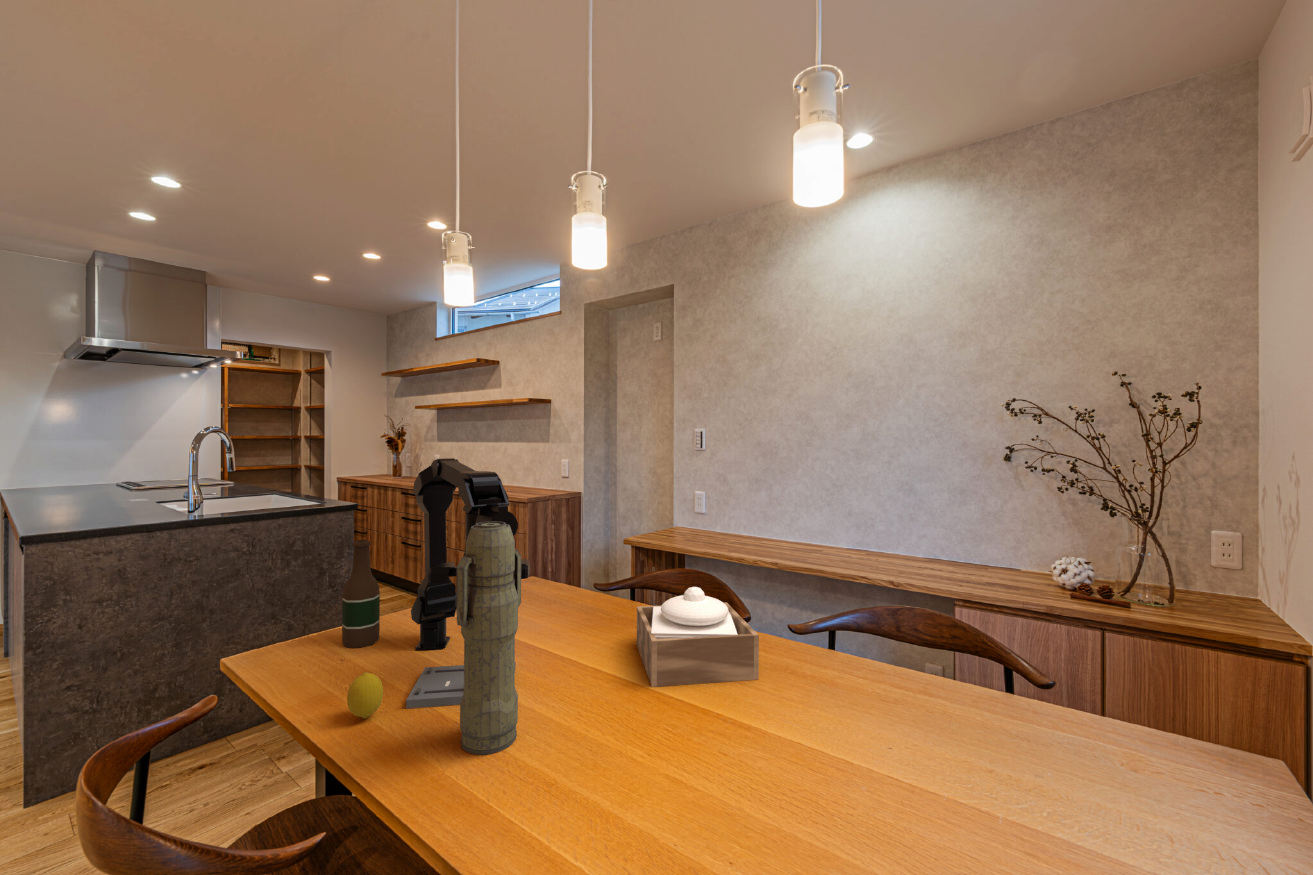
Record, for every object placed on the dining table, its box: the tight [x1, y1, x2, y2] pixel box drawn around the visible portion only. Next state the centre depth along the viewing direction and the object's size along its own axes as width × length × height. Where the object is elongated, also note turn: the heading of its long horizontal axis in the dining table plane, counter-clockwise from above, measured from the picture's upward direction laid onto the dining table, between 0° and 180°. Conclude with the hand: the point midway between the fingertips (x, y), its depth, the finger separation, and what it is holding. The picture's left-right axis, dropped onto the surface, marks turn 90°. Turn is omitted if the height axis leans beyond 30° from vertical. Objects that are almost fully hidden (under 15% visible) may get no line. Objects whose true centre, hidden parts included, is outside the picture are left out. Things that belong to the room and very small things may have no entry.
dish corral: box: [636, 602, 760, 688], centre depth 121 cm, size 22×22×9 cm
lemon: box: [346, 671, 384, 720], centre depth 95 cm, size 6×6×8 cm
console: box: [405, 661, 517, 709], centre depth 107 cm, size 14×18×2 cm
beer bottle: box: [341, 539, 381, 649], centre depth 129 cm, size 8×8×24 cm
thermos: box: [455, 521, 522, 756], centre depth 89 cm, size 9×12×35 cm
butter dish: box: [651, 586, 738, 639], centre depth 121 cm, size 18×18×16 cm
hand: (480, 614), depth 109 cm, fingers closed
